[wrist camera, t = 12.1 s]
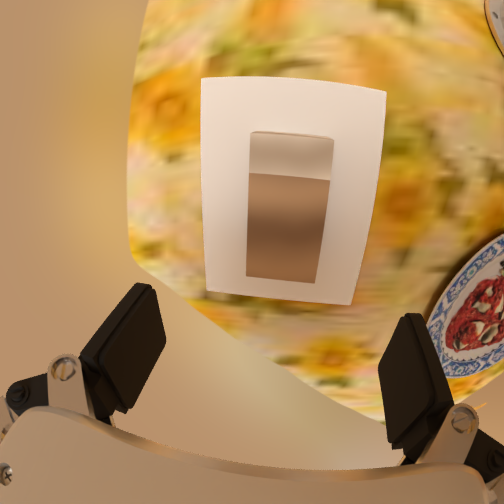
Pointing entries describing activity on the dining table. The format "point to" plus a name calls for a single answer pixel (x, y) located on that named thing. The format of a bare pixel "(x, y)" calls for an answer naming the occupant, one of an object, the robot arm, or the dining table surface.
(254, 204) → the brown and beige box
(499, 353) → the ceramic plate
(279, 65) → the dining table surface
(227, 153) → the white rectangular board
